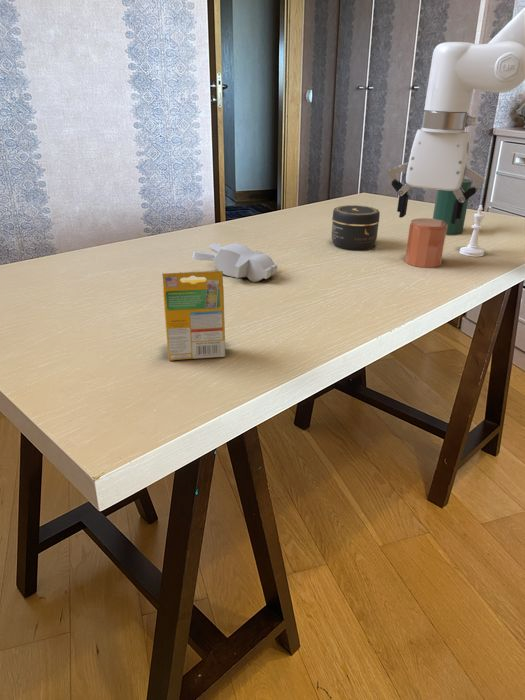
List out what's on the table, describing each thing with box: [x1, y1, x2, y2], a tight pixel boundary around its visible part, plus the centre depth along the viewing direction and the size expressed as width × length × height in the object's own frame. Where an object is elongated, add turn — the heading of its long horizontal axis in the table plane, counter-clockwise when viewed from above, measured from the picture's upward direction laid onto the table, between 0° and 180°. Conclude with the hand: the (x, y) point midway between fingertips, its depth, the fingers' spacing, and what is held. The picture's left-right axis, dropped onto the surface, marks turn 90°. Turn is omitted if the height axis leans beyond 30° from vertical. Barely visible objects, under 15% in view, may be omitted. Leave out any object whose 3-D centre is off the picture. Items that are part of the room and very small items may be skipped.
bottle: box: [432, 178, 473, 236], centre depth 124 cm, size 7×7×16 cm
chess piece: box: [458, 204, 485, 258], centre depth 109 cm, size 5×5×10 cm
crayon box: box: [161, 270, 226, 362], centre depth 66 cm, size 7×3×12 cm, turn 99°
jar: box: [331, 204, 381, 251], centre depth 114 cm, size 10×10×8 cm
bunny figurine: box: [191, 242, 279, 283], centre depth 97 cm, size 10×5×15 cm
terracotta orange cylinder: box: [404, 217, 448, 269], centre depth 104 cm, size 7×7×8 cm
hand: (427, 219), depth 102 cm, fingers open, 9 cm apart
